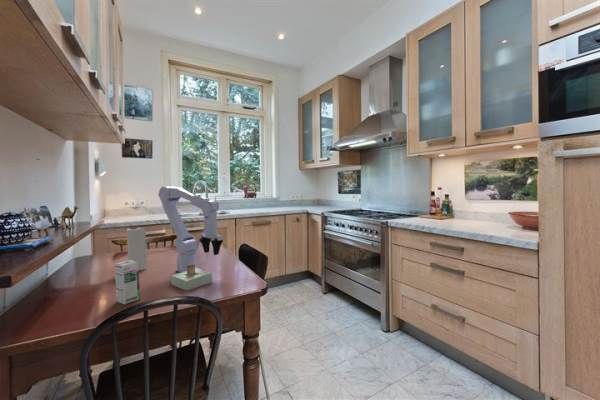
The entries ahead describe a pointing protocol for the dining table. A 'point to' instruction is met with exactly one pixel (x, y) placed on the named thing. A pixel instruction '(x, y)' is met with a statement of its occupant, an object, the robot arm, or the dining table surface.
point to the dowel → (191, 270)
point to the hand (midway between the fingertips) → (211, 253)
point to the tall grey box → (137, 246)
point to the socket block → (191, 279)
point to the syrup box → (127, 281)
